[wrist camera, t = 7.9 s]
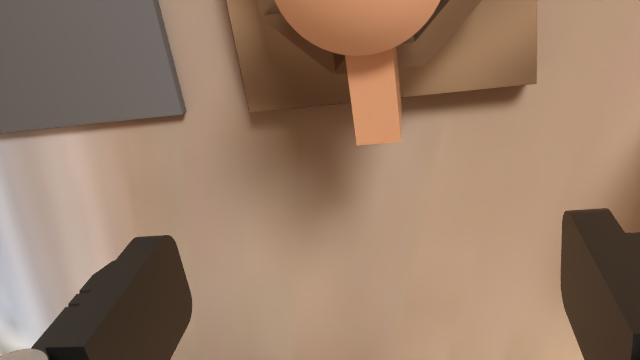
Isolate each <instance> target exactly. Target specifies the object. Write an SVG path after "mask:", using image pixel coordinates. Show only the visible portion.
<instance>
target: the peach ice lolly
mask: <svg viewBox="0 0 640 360" xmlns="http://www.w3.org/2000/svg"><path fill="white" fill-rule="evenodd" d="M275 2H276V4H277V6H278V8H279V10H280V12H281V13H282V15H283V16H284V18H285V19H286V21H287V22H288V23H289V24H290V25H291V26H292V28H293V29H294V30H295V31H296V32H298V33H299V34H300V35H301V36H302V37H303V38H305V39H306V40H308V41H309V42H311V43H312V44H314V45H316V46H318V47H320V48H322V49H324V50H327V51H330V52H333V53H337V54H342V55H345V58H346V66H347V74H348V82H349V90H350V97H351V105H352V113H353V121H354V129H355V136H356V144H357V145H369V144H381V143H392V142H401V113H402V105H401V94H400V83H399V72H398V61H397V50H396V46H398V45H400V44H401V43H403V42H405V41H406V40H408V39H409V38H410V37H412V36H413V35H414V34H415V33H417V32H418V31H419V30H420V29H421V28H422V27H423V26H424V24H425V23H426V22H427V21H428V20H429V18H430V17H431V16H432V14H433V13H434V11H435V9H436V8H437V6H438V4H439V2H440V0H275Z"/></svg>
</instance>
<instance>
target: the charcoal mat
mask: <svg viewBox="0 0 640 360" xmlns="http://www.w3.org/2000/svg"><path fill="white" fill-rule="evenodd" d="M185 112H186V108H185V104H184V100H183V97H182V93H181V89H180V85H179V81H178V77H177V73H176V69H175V65H174V61H173V57H172V54H171V50H170V46H169V42H168V38H167V34H166V30H165V26H164V22H163V18H162V14H161V10H160V7H159V3H158V0H0V133H8V132H18V131H27V130H37V129H47V128H57V127H66V126H76V125H86V124H95V123H105V122H115V121H124V120H134V119H144V118H154V117H163V116H173V115H182V114H183V113H185Z"/></svg>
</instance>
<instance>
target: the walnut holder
mask: <svg viewBox="0 0 640 360" xmlns="http://www.w3.org/2000/svg"><path fill="white" fill-rule="evenodd" d="M226 1H227V6H228V11H229V16H230V21H231V26H232V30H233V35H234V40H235V45H236V50H237V54H238V59H239V64H240V69H241V74H242V78H243V83H244V88H245V93H246V98H247V103H248V107H249V112H250V113H252V112H262V111H272V110H282V109H292V108H302V107H312V106H321V105H331V104H341V103H351V97H350V90H349V82H348V74H347V66H346V58H345V55H342V54H337V53H333V52H330V51H327V50H324V49H322V48H320V47H318V46H316V45H314V44H312V43H311V42H309V41H308V40H306V39H305V38H303V37H302V36H301V35H300V34H299V33H298V32H296V31H295V30H294V29H293V28H292V26H291V25H290V24H289V23H288V22H287V21H286V19H285V18H284V16H283V15H282V13H281V12H280V10H279V8H278V6H277V4H276V2H275V0H226ZM396 50H397V61H398V72H399V83H400V94H401V97H410V96H420V95H430V94H440V93H450V92H460V91H469V90H479V89H489V88H499V87H509V86H519V85H529V84H536V82H537V0H440V2H439V4H438V6H437V8H436V9H435V11H434V13H433V14H432V16H431V17H430V18H429V20H428V21H427V22H426V23H425V24H424V26H423V27H422V28H421V29H420V30H419V31H418V32H417V33H415V34H414V35H413V36H412V37H410V38H409V39H408V40H406V41H405V42H403V43H401V44H400V45H398V46H396Z"/></svg>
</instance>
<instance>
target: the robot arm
mask: <svg viewBox="0 0 640 360" xmlns="http://www.w3.org/2000/svg"><path fill="white" fill-rule="evenodd" d="M561 292H562V299H563V304H564V308H565V311H566V314H567V316H568V319H569V321H570V324H571V327H572V329H573V332H574V334H575V337H576V339H577V342H578V344H579V347H580V349H581V352H582V355H583V357H584V360H640V232H639V233H625V232H624V231H623V229H622V228H621V226H620V225H619V223H618V222H617V220H616V219H615V217H614V216H613V214H612V213H611V212H610V210H609V209H607V208H602V209H587V210H571V211H565V212H564V215H563V220H562V250H561ZM191 313H192V297H191V292H190V289H189V286H188V282H187V279H186V275H185V272H184V268H183V265H182V262H181V258H180V255H179V251H178V248H177V245H176V242H175V240H174V239H173V238H172V237H171V236H169V235H163V236H147V237H136V238H134V239H133V240H132V241H131V242H130V243H129V244H128V246H127V247H126V248H125V249H124V251H123V252H122V253H121V254H120V256H119V257H118V258H117V259H116V260H115V261H112V262H111V263H109V264H108V265H106V266H105V267H104V268H102V269H101V270H99V271H98V272H96V273H95V274H94V275H92V277H91V278H90V279H89V280H88V281H87V282H86V284H85V285H84V286H83V287H82V288H81V290H80V293H79V294H76V296H75V297H74V298H73V299H72V300H71V301H70V303H69V306H68V307H65V309H64V310H63V311H62V312H61V313H60V314H59V316H58V317H57V318H56V319H55V320H54V322H53V323H52V324H51V325H50V326H49V328H48V329H47V330H46V331H45V332H44V333H43V335H42V336H41V337H40V338H39V339H38V341H37V342H36V343H35V344H34V345H33V346H32V348H31V349H22V350H17V351H13V352H10V353H7V354H4V355H2V356H0V360H170V359H171V357H172V355H173V353H174V351H175V349H176V347H177V345H178V343H179V341H180V339H181V338H182V336H183V334H184V332H185V330H186V328H187V326H188V324H189V322H190V318H191Z"/></svg>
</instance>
